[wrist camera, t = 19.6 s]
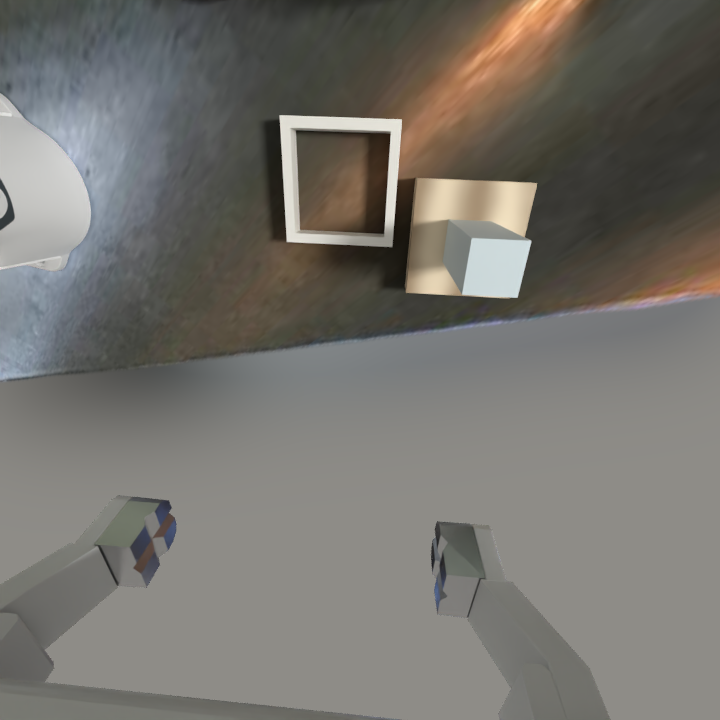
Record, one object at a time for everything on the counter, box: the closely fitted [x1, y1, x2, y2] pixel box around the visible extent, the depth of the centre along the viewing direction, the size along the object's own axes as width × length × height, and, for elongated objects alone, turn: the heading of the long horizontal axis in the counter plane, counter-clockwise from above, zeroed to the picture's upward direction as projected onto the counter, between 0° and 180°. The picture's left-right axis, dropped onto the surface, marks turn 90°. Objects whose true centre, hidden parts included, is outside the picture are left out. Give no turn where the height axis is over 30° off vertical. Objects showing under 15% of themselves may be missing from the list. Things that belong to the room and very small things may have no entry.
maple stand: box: [405, 178, 537, 298], centre depth 41 cm, size 12×12×3 cm
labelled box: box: [443, 219, 531, 298], centre depth 34 cm, size 4×5×12 cm
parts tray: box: [280, 115, 402, 247], centre depth 39 cm, size 12×12×2 cm
